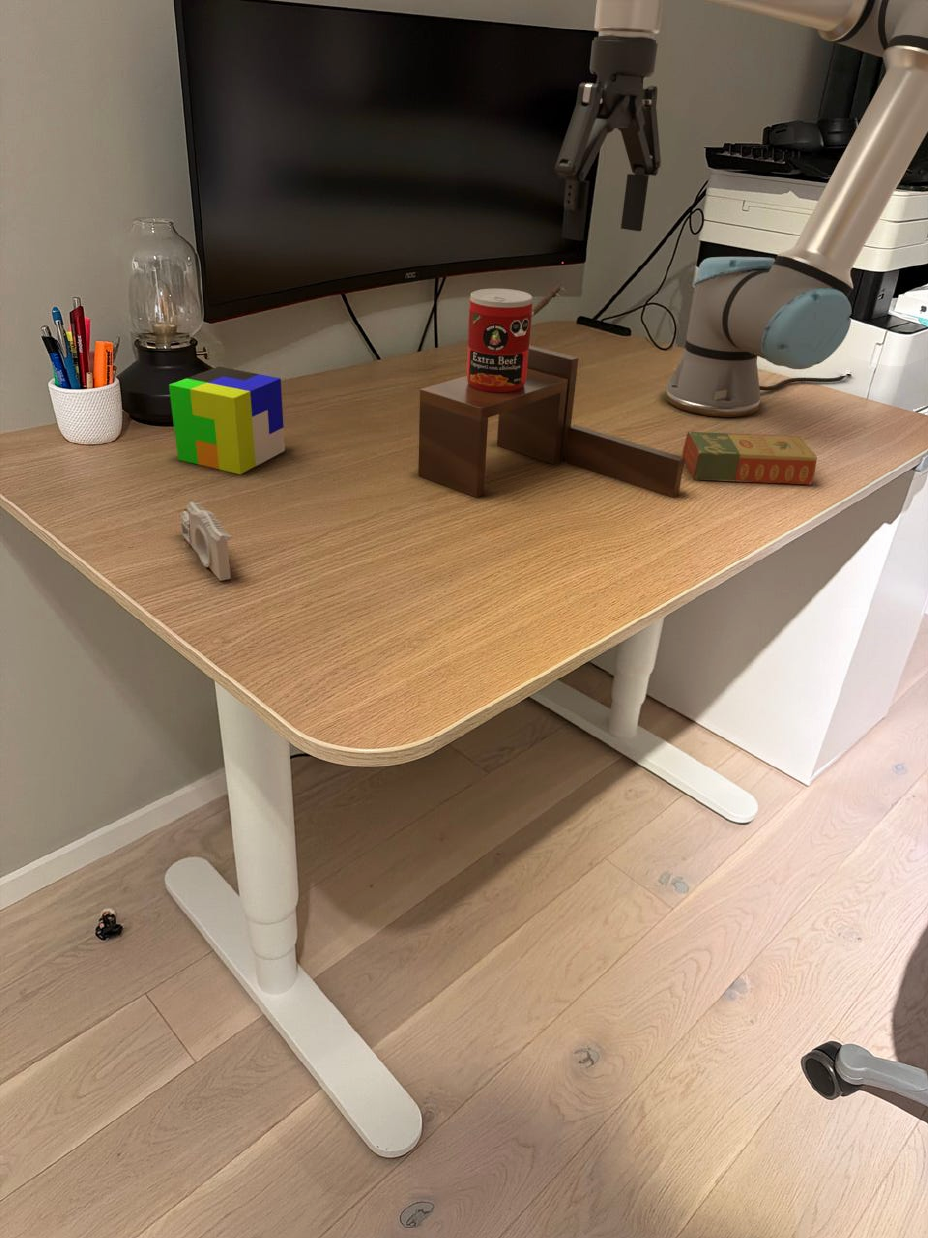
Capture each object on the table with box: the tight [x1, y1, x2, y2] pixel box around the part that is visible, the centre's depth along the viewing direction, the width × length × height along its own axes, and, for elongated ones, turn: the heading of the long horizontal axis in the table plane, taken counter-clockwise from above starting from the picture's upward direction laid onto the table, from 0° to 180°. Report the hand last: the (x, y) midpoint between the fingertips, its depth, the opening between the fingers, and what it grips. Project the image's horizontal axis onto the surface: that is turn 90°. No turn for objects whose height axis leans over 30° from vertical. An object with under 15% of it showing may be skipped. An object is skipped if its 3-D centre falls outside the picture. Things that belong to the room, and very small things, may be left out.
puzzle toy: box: [168, 366, 286, 475], centre depth 120 cm, size 10×10×10 cm
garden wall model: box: [178, 501, 232, 582], centre depth 95 cm, size 12×2×6 cm, turn 33°
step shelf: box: [417, 344, 685, 498], centre depth 115 cm, size 20×28×14 cm
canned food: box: [466, 288, 533, 392], centre depth 114 cm, size 8×8×11 cm
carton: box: [681, 430, 818, 485], centre depth 125 cm, size 8×16×4 cm, turn 89°
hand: (602, 234), depth 116 cm, fingers open, 13 cm apart
